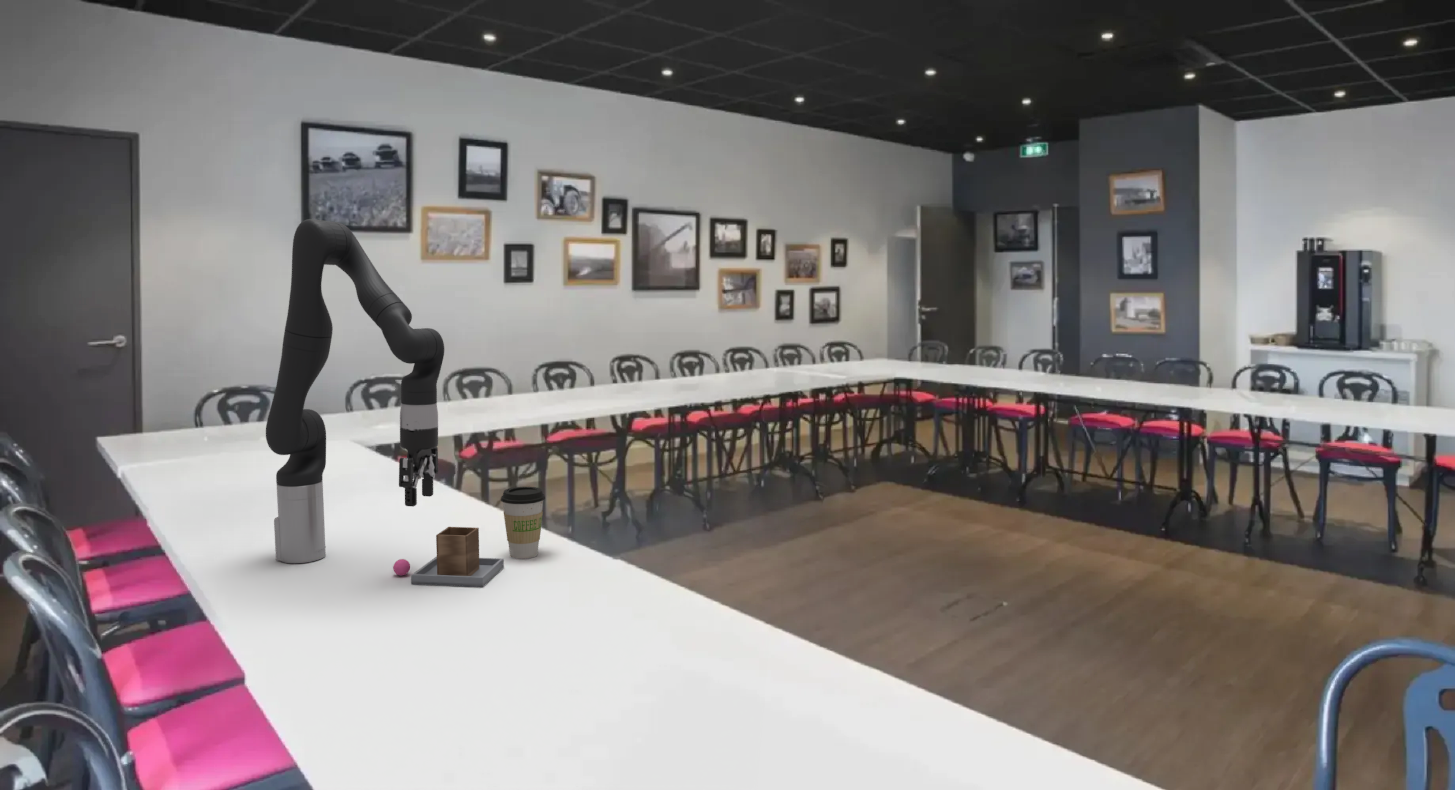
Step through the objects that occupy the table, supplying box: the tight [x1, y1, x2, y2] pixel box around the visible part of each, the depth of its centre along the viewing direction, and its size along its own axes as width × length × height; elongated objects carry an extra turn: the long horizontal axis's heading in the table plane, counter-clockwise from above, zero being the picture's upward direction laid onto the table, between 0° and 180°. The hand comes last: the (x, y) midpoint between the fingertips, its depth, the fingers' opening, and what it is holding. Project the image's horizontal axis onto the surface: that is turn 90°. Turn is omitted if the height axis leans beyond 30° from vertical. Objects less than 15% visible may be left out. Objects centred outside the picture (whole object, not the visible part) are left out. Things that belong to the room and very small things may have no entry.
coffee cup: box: [500, 486, 546, 560], centre depth 201 cm, size 10×10×15 cm
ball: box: [392, 558, 411, 576], centre depth 186 cm, size 3×3×3 cm
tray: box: [410, 555, 505, 588], centre depth 186 cm, size 15×13×2 cm
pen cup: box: [435, 526, 480, 576], centre depth 186 cm, size 7×7×9 cm
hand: (419, 500), depth 185 cm, fingers open, 8 cm apart
